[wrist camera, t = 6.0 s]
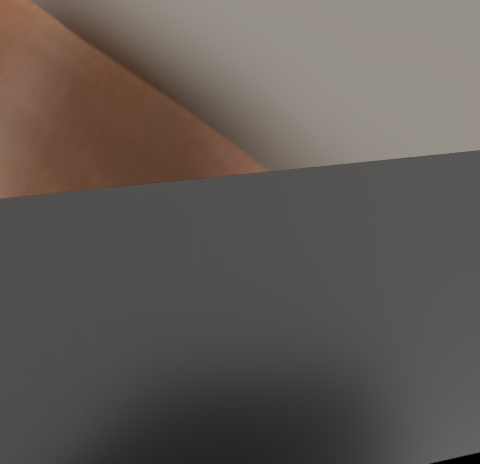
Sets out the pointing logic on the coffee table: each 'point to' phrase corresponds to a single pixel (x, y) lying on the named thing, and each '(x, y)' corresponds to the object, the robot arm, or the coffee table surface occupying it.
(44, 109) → the coffee table surface
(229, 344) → the post
